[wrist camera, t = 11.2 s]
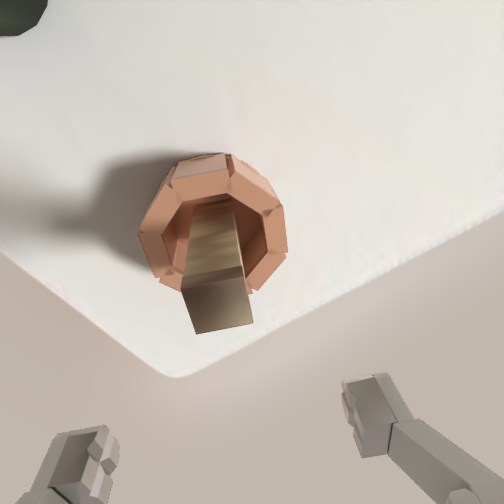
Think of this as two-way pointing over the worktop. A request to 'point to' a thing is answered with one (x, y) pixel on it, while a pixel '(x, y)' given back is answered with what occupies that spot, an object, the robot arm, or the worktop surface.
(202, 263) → the tan wooden post
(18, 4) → the potion bottle
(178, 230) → the terracotta polygonal bowl
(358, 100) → the worktop surface
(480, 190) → the worktop surface
